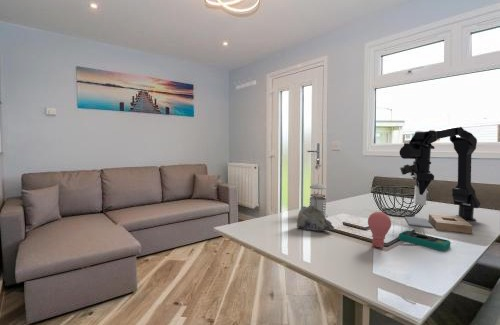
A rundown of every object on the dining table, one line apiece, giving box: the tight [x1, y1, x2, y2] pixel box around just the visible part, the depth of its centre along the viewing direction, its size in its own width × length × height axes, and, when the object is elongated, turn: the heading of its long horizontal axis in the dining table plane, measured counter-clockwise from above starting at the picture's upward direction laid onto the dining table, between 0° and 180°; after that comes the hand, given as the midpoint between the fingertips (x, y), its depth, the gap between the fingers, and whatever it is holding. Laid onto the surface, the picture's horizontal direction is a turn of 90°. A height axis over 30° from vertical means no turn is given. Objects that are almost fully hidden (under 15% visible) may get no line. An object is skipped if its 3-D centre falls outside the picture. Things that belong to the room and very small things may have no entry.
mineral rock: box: [296, 205, 335, 232], centre depth 110 cm, size 13×11×10 cm
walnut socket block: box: [428, 213, 473, 234], centre depth 119 cm, size 16×12×3 cm
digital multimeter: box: [398, 230, 452, 252], centre depth 98 cm, size 7×15×3 cm, turn 38°
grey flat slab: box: [404, 216, 434, 229], centre depth 124 cm, size 14×9×1 cm, turn 157°
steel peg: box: [413, 184, 428, 206], centre depth 123 cm, size 4×4×8 cm
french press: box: [309, 163, 328, 218], centre depth 133 cm, size 10×12×25 cm
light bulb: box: [367, 211, 392, 248], centre depth 93 cm, size 7×7×12 cm
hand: (420, 193), depth 123 cm, fingers closed on steel peg, 4 cm apart
